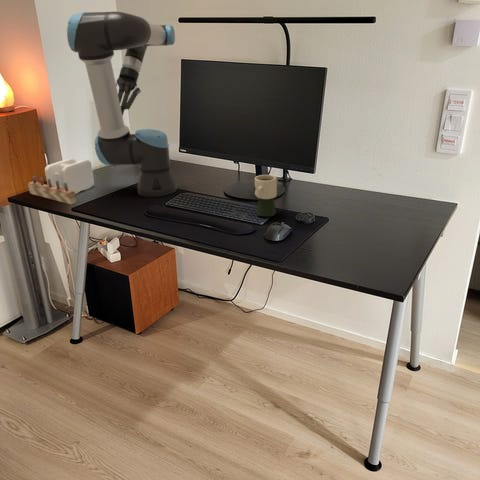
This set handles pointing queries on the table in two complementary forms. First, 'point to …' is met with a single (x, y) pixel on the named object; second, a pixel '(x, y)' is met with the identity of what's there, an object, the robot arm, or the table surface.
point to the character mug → (266, 194)
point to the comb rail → (52, 191)
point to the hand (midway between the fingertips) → (115, 123)
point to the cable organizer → (71, 174)
